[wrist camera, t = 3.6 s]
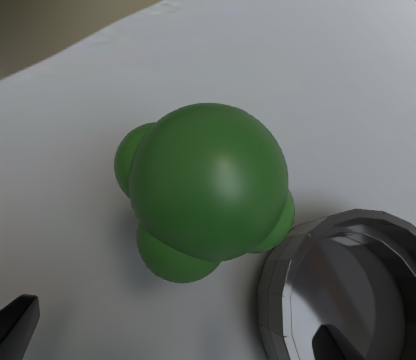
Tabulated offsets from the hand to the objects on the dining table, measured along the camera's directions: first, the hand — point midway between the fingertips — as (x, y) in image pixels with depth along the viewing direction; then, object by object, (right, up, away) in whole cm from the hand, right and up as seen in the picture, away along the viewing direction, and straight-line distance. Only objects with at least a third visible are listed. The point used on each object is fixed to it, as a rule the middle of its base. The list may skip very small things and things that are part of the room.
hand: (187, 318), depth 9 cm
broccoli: (-1, +1, +12) cm, 12 cm away
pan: (+10, -5, +12) cm, 17 cm away
